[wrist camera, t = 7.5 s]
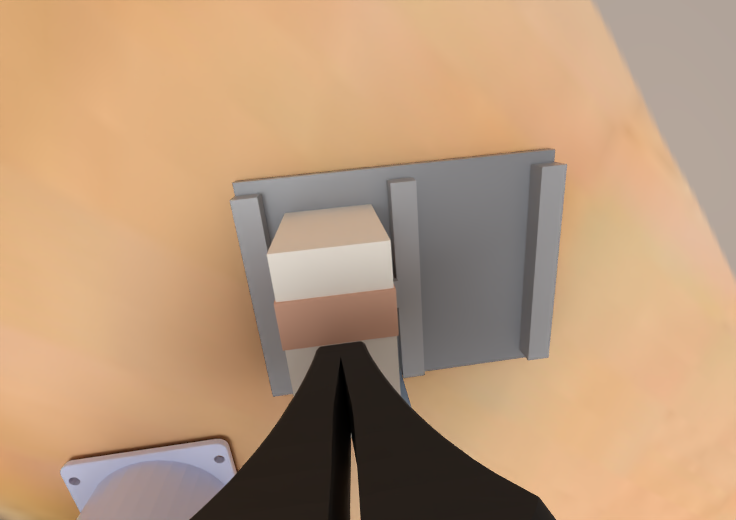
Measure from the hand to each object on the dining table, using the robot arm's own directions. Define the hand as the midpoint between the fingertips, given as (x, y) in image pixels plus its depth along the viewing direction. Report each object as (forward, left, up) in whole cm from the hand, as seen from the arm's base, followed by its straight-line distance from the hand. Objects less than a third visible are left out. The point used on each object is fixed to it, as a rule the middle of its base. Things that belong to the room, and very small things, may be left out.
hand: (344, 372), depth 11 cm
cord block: (0, 0, -6) cm, 6 cm away
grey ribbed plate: (0, -3, -6) cm, 7 cm away
